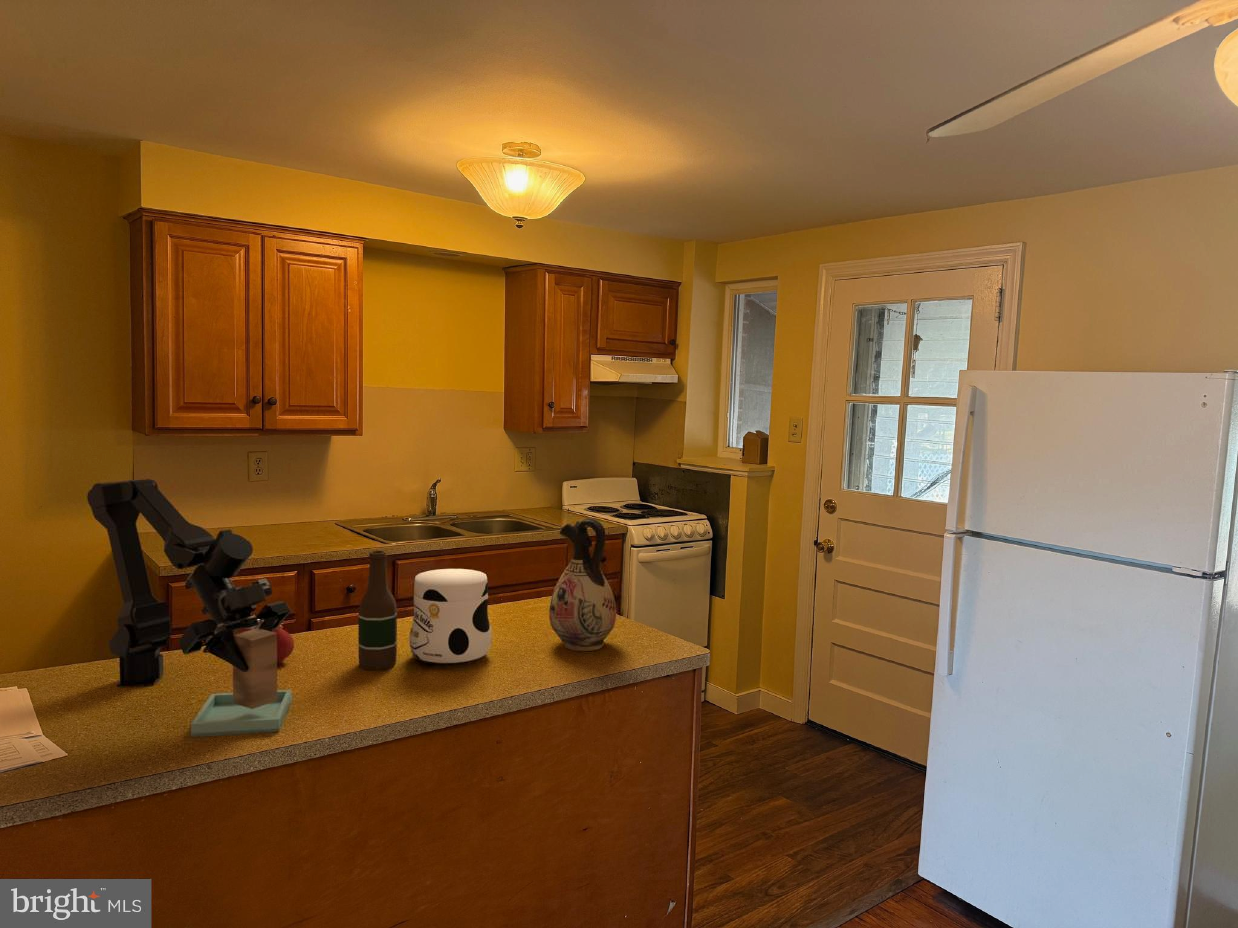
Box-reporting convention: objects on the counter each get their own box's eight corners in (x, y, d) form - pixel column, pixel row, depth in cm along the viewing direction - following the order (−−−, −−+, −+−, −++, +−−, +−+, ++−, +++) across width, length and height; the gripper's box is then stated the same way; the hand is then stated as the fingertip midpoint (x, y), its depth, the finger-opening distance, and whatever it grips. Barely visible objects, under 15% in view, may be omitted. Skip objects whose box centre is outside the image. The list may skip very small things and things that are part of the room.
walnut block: (233, 702, 144) (232, 635, 143) (258, 693, 148) (257, 628, 147) (252, 709, 141) (251, 640, 140) (277, 699, 146) (276, 633, 145)
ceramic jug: (533, 645, 190) (536, 515, 187) (580, 631, 201) (583, 509, 198) (588, 663, 179) (592, 525, 176) (634, 647, 190) (638, 517, 187)
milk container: (392, 664, 175) (392, 580, 173) (439, 641, 191) (440, 564, 189) (463, 677, 168) (463, 589, 166) (506, 652, 184) (507, 572, 182)
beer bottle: (404, 661, 176) (404, 550, 174) (382, 673, 169) (382, 556, 167) (373, 656, 179) (373, 546, 177) (350, 668, 172) (350, 553, 169)
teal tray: (191, 737, 137) (190, 724, 137) (211, 705, 150) (211, 693, 150) (279, 731, 140) (279, 718, 140) (291, 701, 153) (291, 689, 153)
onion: (283, 668, 170) (282, 630, 169) (257, 666, 171) (257, 628, 170) (299, 659, 176) (299, 622, 175) (275, 657, 177) (274, 620, 176)
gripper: (188, 576, 136) (233, 654, 132) (283, 557, 153) (326, 626, 148) (160, 615, 141) (202, 692, 137) (255, 593, 157) (296, 660, 153)
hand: (260, 665), depth 143 cm, fingers closed on walnut block, 5 cm apart
